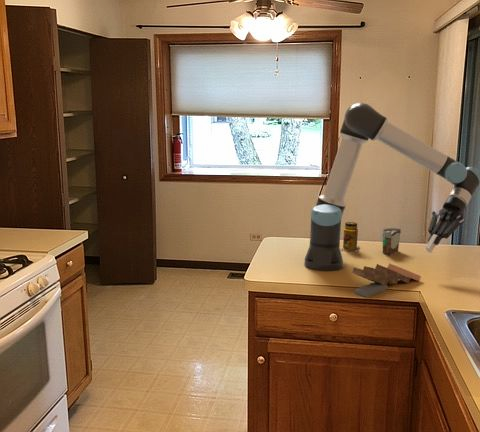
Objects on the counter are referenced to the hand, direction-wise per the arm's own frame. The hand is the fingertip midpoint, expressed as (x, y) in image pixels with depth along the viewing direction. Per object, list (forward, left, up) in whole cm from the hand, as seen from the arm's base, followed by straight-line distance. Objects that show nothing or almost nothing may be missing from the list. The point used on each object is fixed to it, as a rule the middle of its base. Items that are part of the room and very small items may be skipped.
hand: (428, 250), depth 199 cm
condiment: (-31, +30, -10) cm, 44 cm away
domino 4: (-8, -10, -9) cm, 16 cm away
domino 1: (-12, -14, -9) cm, 20 cm away
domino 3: (-16, -20, -10) cm, 27 cm away
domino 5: (-4, -6, -9) cm, 11 cm away
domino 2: (-16, -18, -9) cm, 25 cm away
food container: (-15, +30, -10) cm, 35 cm away
